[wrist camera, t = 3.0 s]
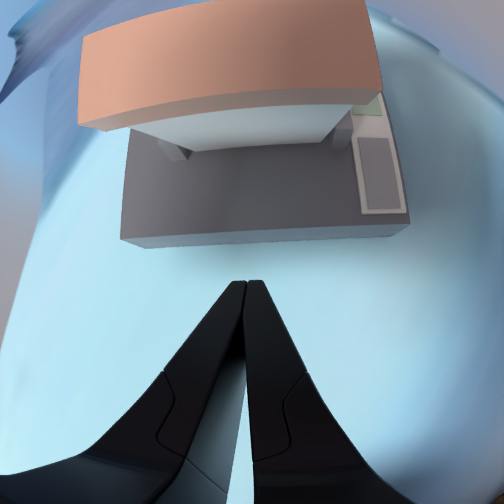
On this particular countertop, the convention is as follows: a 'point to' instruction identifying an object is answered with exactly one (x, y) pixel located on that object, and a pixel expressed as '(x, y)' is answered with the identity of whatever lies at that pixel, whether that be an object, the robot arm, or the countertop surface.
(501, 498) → the wooden container
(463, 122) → the countertop surface
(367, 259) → the countertop surface
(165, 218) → the switch unit
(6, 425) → the countertop surface
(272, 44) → the lever
